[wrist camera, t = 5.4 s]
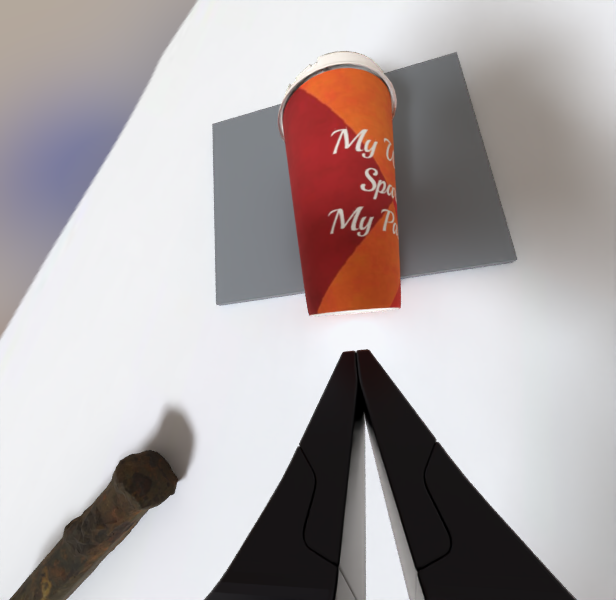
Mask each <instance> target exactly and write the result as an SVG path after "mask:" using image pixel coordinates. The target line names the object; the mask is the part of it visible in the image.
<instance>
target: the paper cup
mask: <svg viewBox="0 0 616 600" xmlns="http://www.w3.org/2000/svg"><path fill="white" fill-rule="evenodd" d="M295 79H296V81H295V82H294V83H293V84H292V85H291V84H289V86H288V88H287V90H286V93H285V97H284V99H283V101H282V103H281V106H280V109H279V113H278V127H279V132H280V135H281V137H282V139H283V141H284V142H285V147H286V154H287V162H288V170H289V177H290V185H291V193H292V200H293V208H294V216H295V223H296V231H297V238H298V246H299V253H300V261H301V268H302V275H303V282H304V289H305V296H306V302H307V308H308V313H309V316H328V315H344V314H356V313H368V312H378V311H387V310H394V309H400V308H401V283H400V258H399V237H398V218H397V198H396V180H395V161H394V143H393V124H392V120H393V118H394V115H395V111H396V101H397V99H396V94H395V90H394V87H393V85H392V83H391V82H390V80H389V79H388V78H387V76H386V75H385V74H384V73H383V71H382V70H381V69H380V67H379V66H378V65H377V64H376V63H375V62H374V61H373V60H372V59H370V58H368V57H366V56H365V55H362V54H359V53H356V52H349V51H340V52H333V53H328V54H325V55H322V56H320V57H318V58H317V62H316V63H315V64H314V65H313V66H312V65H309V66H308V67H306V68H305V69H304V70H303V71H302V72H301V73H300V74H299V75H298V76H297V77H296V78H295Z"/></svg>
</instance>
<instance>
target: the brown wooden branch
mask: <svg viewBox="0 0 616 600" xmlns="http://www.w3.org/2000/svg"><path fill="white" fill-rule="evenodd" d="M177 481H178V479H177V477H176V476H175V474H174V473H173V471H172V470H171V467H170V465H169V464H168V463H167V461H166V460H165V459H164V458H163V457H162V456H161V455H160V454H159V453H157V452H155V451H151V450H149V451H144V452H142V453H139V454H131V455H129V456H127V457H125V458H124V459H122V460H120V462H119V464H118V465H117V467H116V470H115V471H114V473H113V476H112V480H111V482H110V483H109V485H108V487H107V488H106V489H105V490H104V491H103V492H102V494H101V495H100V496H99V497H98V498H97V499H96V500H95V502H94V503H93V504H92V505H91V506H90V507H89V508H87V509H86V510H85V511H84V512H83V514H82V515H81V516H79V517H77V518H76V519H74V520H72V521H71V522H70V523H69V524H68V525H67V526H66V527H65V529H64V534H63V538H62V539H61V540H60V541H59V543H58V544H57V545H56V546H55V547H54V549H53V550H52V551H51V552H50V553H49V554H48V555H47V556H46V557H45V559H44V560H43V561H42V562H41V563H40V564H39V566H38V567H37V568H36V569H35V570H34V571H33V573H32V574H31V575H30V576H29V577H28V578H27V579H26V581H25V582H24V583H23V584H22V585H21V587H20V588H19V589H18V590H17V592H16V593H15V594H14V595H13V596H12V597H11V598H10V600H66V599H67V598H68V597H69V596H70V595H71V594H72V593H73V592H74V591H75V590H76V589H77V588H78V587H79V586H80V585H81V584H82V582H83V581H84V580H85V579H86V578H87V577H88V576H89V575H90V574H91V573H92V572H93V571H94V570H95V569H96V567H97V566H98V565H99V563H100V562H101V561H102V560H103V559H104V558H105V557H106V556H107V555H108V554H109V553H110V552H111V551H113V550H114V549H115V547H116V546H117V545H118V544H120V543H121V542H122V541H123V539H124V538H125V537H126V536H127V535H128V534H129V533H130V532H131V530H132V529H133V528H134V527H135V526H136V524H137V523H138V521H139V520H140V519H141V517H142V516H143V515H144V514H145V513H146V512H147V511H148V510H149V509H151V508H153V507H156V506H158V505H159V504H161V503H162V502H164V501H165V500H166V499H167V498H168V497H169V496H170V495H173V494H174V493H175V489H176V485H177Z"/></svg>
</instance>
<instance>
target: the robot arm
mask: <svg viewBox="0 0 616 600" xmlns="http://www.w3.org/2000/svg"><path fill="white" fill-rule="evenodd" d="M364 414H365V417H364ZM365 420H366V425H367V429H368V433H369V438H370V442H371V446H372V450H373V454H374V458H375V462H376V466H377V470H378V474H379V478H380V482H381V486H382V490H383V494H384V498H385V502H386V506H387V510H388V514H389V518H390V522H391V526H392V531H393V535H394V539H395V543H396V547H397V551H398V555H399V559H400V563H401V567H402V571H403V575H404V579H405V583H406V587H407V591H408V595H409V599H410V600H577V599H576V598H575V597H574V596H573V595H572V594H571V593H570V592H569V591H568V590H567V589H566V588H565V587H564V586H563V585H562V584H561V583H560V581H559V580H558V579H557V578H556V577H555V576H554V575H553V574H552V573H551V572H550V571H549V569H548V568H547V567H546V566H545V565H544V564H543V563H542V562H541V561H540V560H539V558H538V557H537V556H536V555H535V554H534V553H533V552H532V551H531V550H530V548H529V547H528V546H527V545H526V544H525V543H524V542H523V541H522V540H521V539H520V537H519V536H518V535H517V534H516V533H515V532H514V531H513V530H512V529H511V528H510V526H509V525H508V524H507V523H506V522H505V521H504V520H503V519H502V518H501V517H500V515H499V514H498V513H497V512H496V511H495V510H494V509H493V508H492V507H491V506H490V504H489V503H488V502H487V501H486V500H485V499H484V498H483V496H482V495H481V494H480V493H479V492H478V491H477V489H476V488H475V487H474V486H473V485H472V484H471V483H470V481H469V480H468V479H467V478H466V477H465V475H464V474H463V473H462V472H461V470H460V469H459V468H458V467H457V465H456V464H455V463H454V461H453V460H452V459H451V458H450V456H449V455H448V454H447V452H446V451H445V450H444V448H443V447H442V446H441V444H440V443H439V442H436V438H435V437H434V435H433V434H432V433H431V431H430V430H429V429H428V427H427V426H426V425H425V423H424V422H423V421H422V419H421V418H420V417H419V415H418V414H417V413H416V411H415V410H414V409H413V407H412V406H411V405H410V403H409V402H408V401H407V399H406V398H405V397H404V395H403V394H402V393H401V391H400V390H399V389H398V387H397V386H396V385H395V383H394V382H393V381H392V379H391V378H390V377H389V375H388V374H387V373H386V371H385V370H384V369H383V368H382V366H381V365H380V364H379V362H378V361H377V360H376V358H375V357H374V356H373V354H372V353H371V352H370V350H368V349H366V350H357V351H356V352H355V351H346V352H343V353H342V355H341V357H340V359H339V361H338V363H337V365H336V367H335V369H334V371H333V374H332V376H331V378H330V380H329V382H328V384H327V386H326V388H325V390H324V393H323V395H322V397H321V399H320V401H319V403H318V405H317V407H316V409H315V411H314V414H313V416H312V418H311V420H310V422H309V424H308V426H307V428H306V430H305V433H304V435H303V437H302V439H301V441H300V443H299V446H298V447H297V449H296V451H295V453H294V455H293V458H292V460H291V462H290V464H289V466H288V468H287V470H286V471H285V473H284V475H283V477H282V479H281V481H280V483H279V485H278V486H277V488H276V490H275V492H274V493H273V495H272V497H271V498H270V500H269V502H268V504H267V505H266V507H265V509H264V510H263V512H262V513H261V515H260V517H259V518H258V520H257V522H256V523H255V525H254V527H253V528H252V530H251V532H250V533H249V535H248V536H247V538H246V540H245V541H244V543H243V545H242V546H241V548H240V550H239V551H238V553H237V554H236V556H235V558H234V559H233V561H232V563H231V564H230V566H229V567H228V569H227V571H226V572H225V573H224V575H223V576H222V578H221V579H220V581H219V582H218V583H217V585H216V586H215V587H214V588H213V590H212V591H211V592H210V593H209V595H208V596H207V597H206V598H205V599H204V600H366V516H365Z"/></svg>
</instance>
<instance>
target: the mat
mask: <svg viewBox="0 0 616 600" xmlns="http://www.w3.org/2000/svg"><path fill="white" fill-rule="evenodd" d="M384 74H385V75H386V76H387V78H388V79H389V80H390V82H391V83H392V85H393V87H394V90H395V94H396V99H397V101H396V111H395V115H394V118H393V120H392V124H393V143H394V161H395V180H396V198H397V218H398V237H399V258H400V279H404V278H410V277H417V276H424V275H431V274H438V273H444V272H451V271H458V270H465V269H471V268H478V267H485V266H492V265H499V264H505V263H512V262H514V261H516V260H517V257H516V253H515V250H514V246H513V243H512V239H511V236H510V233H509V229H508V226H507V222H506V219H505V216H504V212H503V209H502V205H501V202H500V199H499V195H498V192H497V188H496V185H495V181H494V178H493V175H492V171H491V168H490V164H489V161H488V158H487V154H486V151H485V147H484V144H483V141H482V137H481V134H480V130H479V127H478V123H477V120H476V117H475V113H474V110H473V106H472V103H471V100H470V96H469V93H468V89H467V86H466V83H465V79H464V76H463V72H462V69H461V65H460V62H459V59H458V55H457V52H456V53H452V54H449V55H445V56H442V57H439V58H435V59H432V60H428V61H425V62H422V63H418V64H415V65H411V66H408V67H405V68H401V69H398V70H394V71H391V72H388V73H384ZM280 106H281V104H279V105H276V106H272V107H269V108H265V109H262V110H259V111H255V112H252V113H249V114H245V115H242V116H238V117H235V118H232V119H228V120H225V121H221V122H218V123H215V124H212V126H213V175H214V224H215V273H216V304H217V305H220V306H221V305H227V304H234V303H241V302H248V301H255V300H261V299H268V298H275V297H282V296H288V295H295V294H302V293H305V289H304V282H303V275H302V268H301V261H300V253H299V246H298V238H297V231H296V223H295V216H294V208H293V200H292V193H291V185H290V177H289V170H288V162H287V154H286V147H285V142H284V141H283V139H282V137H281V135H280V132H279V127H278V113H279V109H280Z"/></svg>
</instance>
